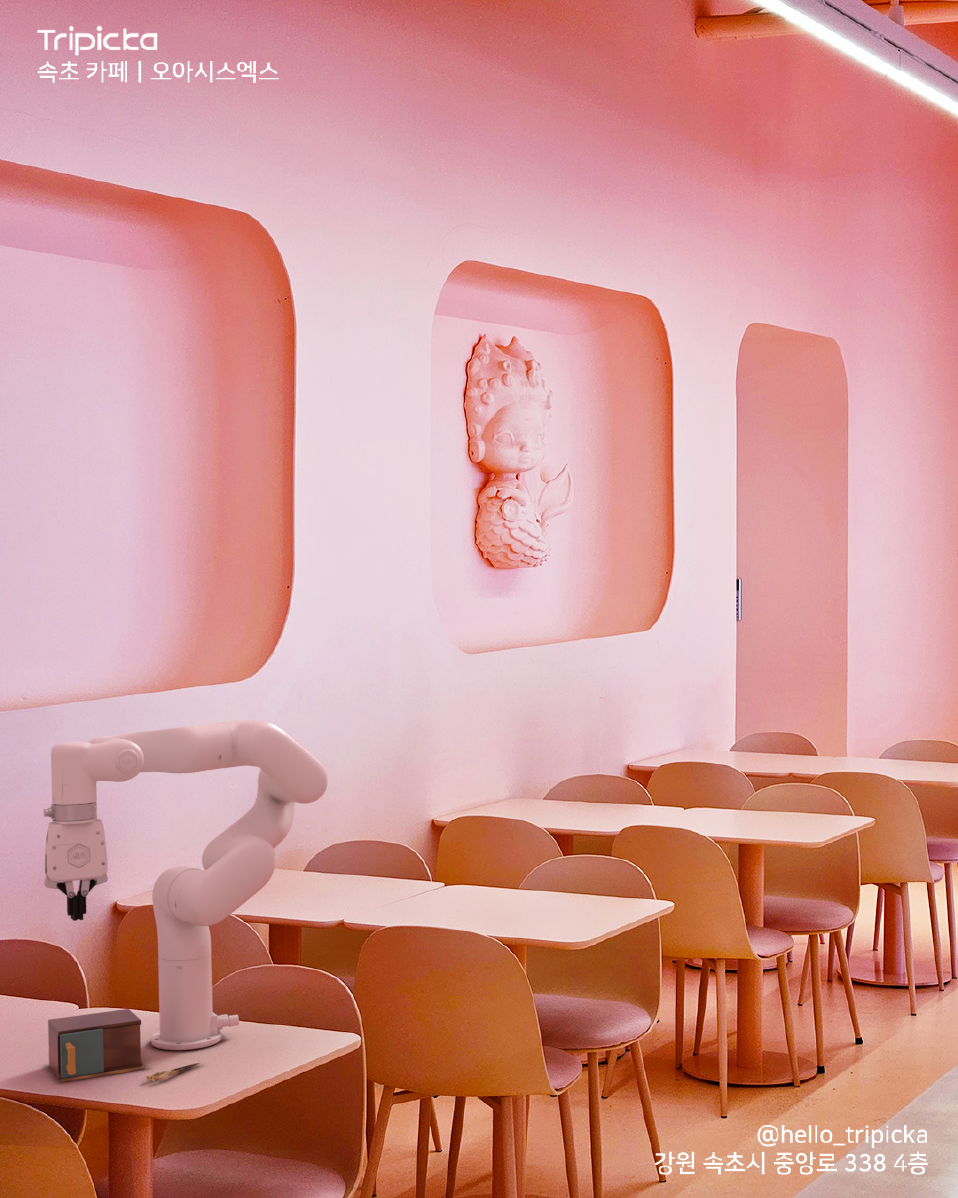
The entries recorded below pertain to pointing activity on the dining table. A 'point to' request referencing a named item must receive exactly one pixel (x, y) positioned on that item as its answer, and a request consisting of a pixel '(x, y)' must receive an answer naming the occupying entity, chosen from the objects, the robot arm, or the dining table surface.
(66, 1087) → the dining table surface
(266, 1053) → the dining table surface
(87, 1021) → the cupboard
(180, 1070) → the tan slender tapered piece
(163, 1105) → the dining table surface
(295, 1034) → the dining table surface
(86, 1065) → the door
